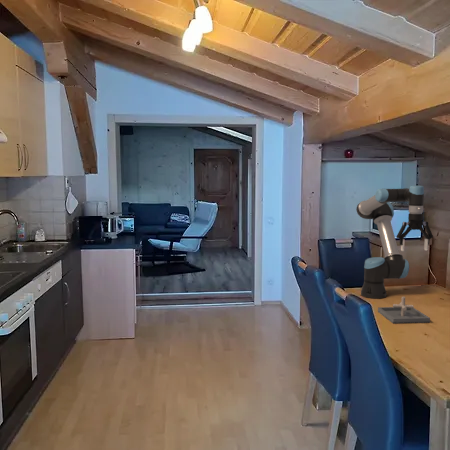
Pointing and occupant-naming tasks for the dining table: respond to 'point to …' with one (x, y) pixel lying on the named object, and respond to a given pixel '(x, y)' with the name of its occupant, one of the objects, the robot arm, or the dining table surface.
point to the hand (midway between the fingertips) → (414, 250)
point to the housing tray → (410, 316)
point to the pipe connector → (402, 306)
